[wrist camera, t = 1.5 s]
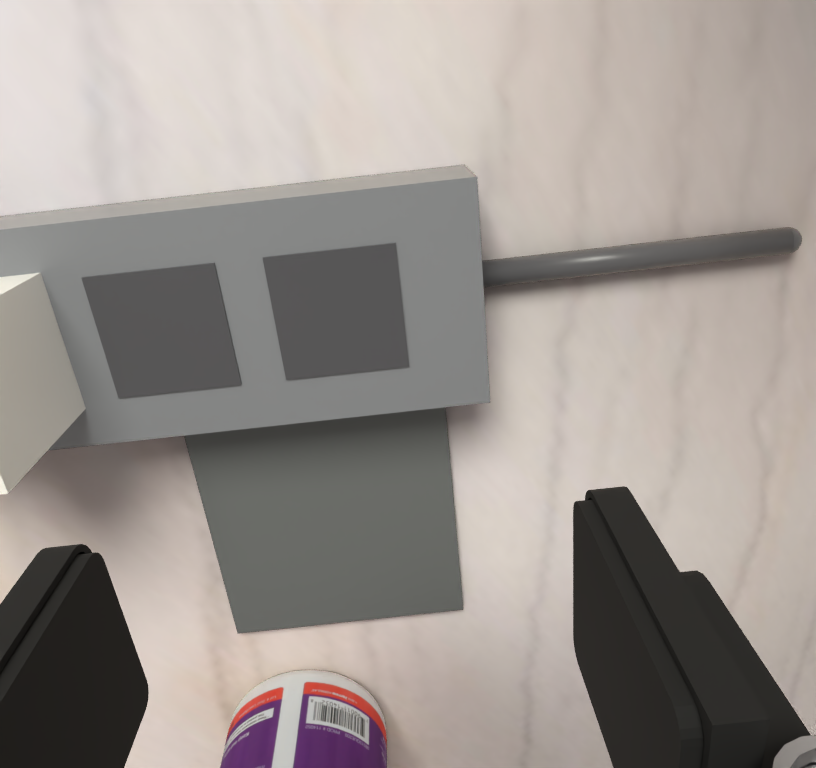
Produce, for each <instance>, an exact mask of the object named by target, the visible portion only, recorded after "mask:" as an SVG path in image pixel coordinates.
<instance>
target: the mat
mask: <svg viewBox="0 0 816 768" xmlns="http://www.w3.org/2000/svg"><path fill="white" fill-rule="evenodd" d="M184 437H185V441H186V444H187V448H188V452H189V455H190V459H191V463H192V466H193V470H194V474H195V477H196V481H197V485H198V489H199V492H200V496H201V500H202V503H203V507H204V511H205V514H206V518H207V522H208V525H209V529H210V533H211V536H212V540H213V544H214V548H215V551H216V555H217V559H218V562H219V566H220V570H221V573H222V577H223V581H224V584H225V588H226V592H227V596H228V599H229V603H230V607H231V610H232V614H233V618H234V621H235V625H236V629H237V632H238V633H247V632H256V631H266V630H275V629H285V628H294V627H303V626H313V625H322V624H332V623H341V622H351V621H360V620H369V619H379V618H388V617H398V616H407V615H416V614H426V613H435V612H445V611H454V610H463V601H462V590H461V579H460V568H459V556H458V545H457V534H456V522H455V511H454V500H453V489H452V477H451V466H450V455H449V443H448V432H447V421H446V410H445V407H443V408H434V409H425V410H416V411H406V412H397V413H388V414H379V415H369V416H360V417H351V418H342V419H333V420H323V421H314V422H305V423H296V424H287V425H277V426H268V427H259V428H250V429H240V430H231V431H222V432H213V433H204V434H194V435H185V436H184Z"/></svg>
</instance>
